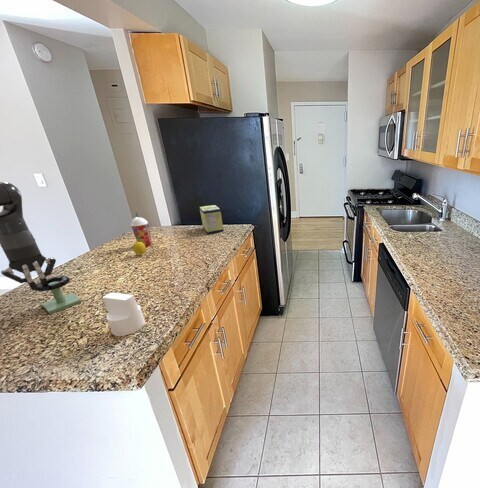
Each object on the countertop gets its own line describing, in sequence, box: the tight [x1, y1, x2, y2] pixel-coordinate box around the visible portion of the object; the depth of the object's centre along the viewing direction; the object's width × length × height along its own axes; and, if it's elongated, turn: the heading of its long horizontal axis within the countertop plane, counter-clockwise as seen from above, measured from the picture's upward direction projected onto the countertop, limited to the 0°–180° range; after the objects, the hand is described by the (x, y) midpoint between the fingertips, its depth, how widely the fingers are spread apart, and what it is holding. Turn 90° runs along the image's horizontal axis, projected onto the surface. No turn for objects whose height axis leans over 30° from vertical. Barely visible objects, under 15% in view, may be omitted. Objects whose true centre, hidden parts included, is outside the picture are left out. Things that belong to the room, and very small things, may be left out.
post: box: [41, 282, 82, 315], centre depth 97 cm, size 9×9×9 cm
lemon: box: [132, 240, 147, 256], centre depth 139 cm, size 6×6×8 cm
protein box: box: [198, 204, 225, 235], centre depth 176 cm, size 10×16×16 cm
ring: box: [35, 275, 71, 292], centre depth 95 cm, size 8×8×2 cm
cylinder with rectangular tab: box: [102, 292, 146, 337], centre depth 84 cm, size 9×9×12 cm
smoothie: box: [129, 212, 153, 248], centre depth 149 cm, size 8×8×20 cm
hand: (40, 288), depth 93 cm, fingers closed on ring, 1 cm apart
